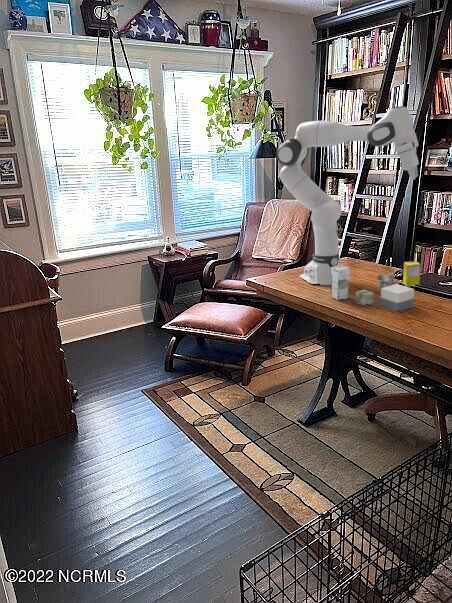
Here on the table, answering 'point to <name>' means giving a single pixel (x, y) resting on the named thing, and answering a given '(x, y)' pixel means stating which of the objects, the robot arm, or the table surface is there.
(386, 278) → the elephant statuette
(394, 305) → the tower base block
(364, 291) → the sage cube
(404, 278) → the supplement box
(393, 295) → the tower top block
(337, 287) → the syrup box
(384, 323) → the table surface
